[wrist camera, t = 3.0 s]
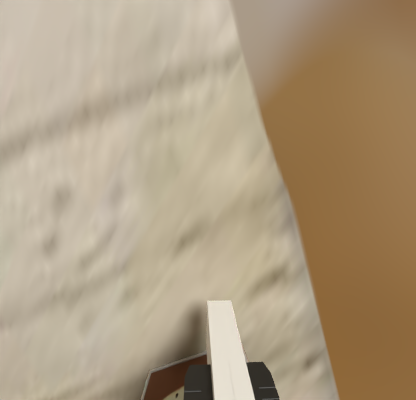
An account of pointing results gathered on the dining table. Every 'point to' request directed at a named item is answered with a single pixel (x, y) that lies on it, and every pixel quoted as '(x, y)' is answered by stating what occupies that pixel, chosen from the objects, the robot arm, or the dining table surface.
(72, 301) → the dining table surface
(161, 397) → the food container
